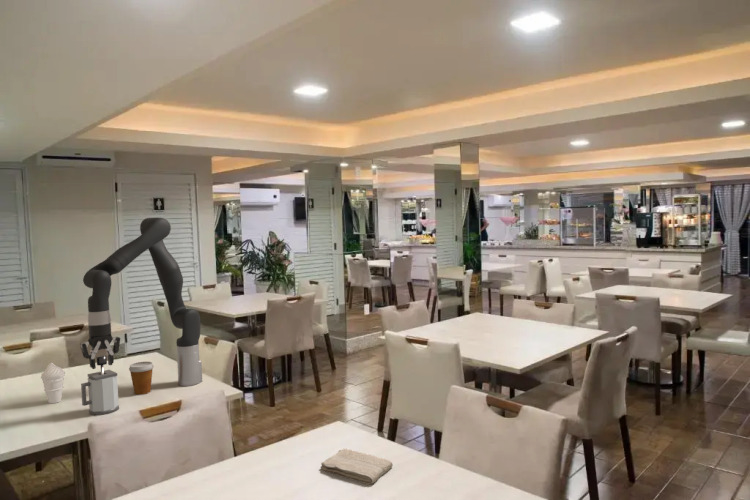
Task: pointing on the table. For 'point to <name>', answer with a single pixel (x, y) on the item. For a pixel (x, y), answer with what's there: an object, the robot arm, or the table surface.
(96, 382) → the carafe
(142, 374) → the disposable coffee cup
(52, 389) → the soft serve ice cream cone
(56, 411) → the table surface
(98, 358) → the plunger
